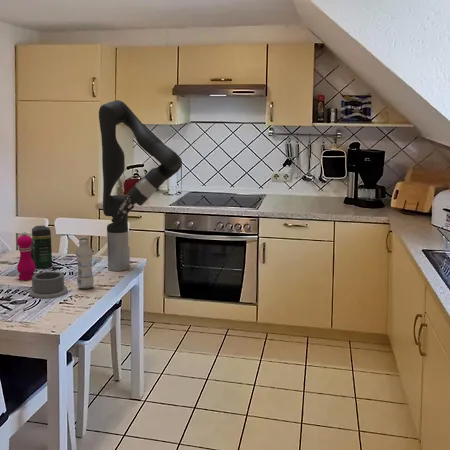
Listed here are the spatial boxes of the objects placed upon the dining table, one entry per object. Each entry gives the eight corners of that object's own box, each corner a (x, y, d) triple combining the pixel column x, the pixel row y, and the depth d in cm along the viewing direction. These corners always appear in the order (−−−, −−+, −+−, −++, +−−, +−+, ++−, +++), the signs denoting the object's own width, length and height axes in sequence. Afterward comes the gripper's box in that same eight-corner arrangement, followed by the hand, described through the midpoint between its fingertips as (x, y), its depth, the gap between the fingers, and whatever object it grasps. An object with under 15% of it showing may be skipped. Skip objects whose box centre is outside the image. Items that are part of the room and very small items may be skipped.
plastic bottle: (97, 286, 221) (95, 238, 217) (87, 291, 215) (86, 241, 211) (83, 284, 223) (81, 236, 219) (73, 289, 217) (71, 240, 213)
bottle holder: (47, 284, 222) (46, 269, 221) (75, 289, 216) (74, 273, 215) (21, 294, 209) (20, 278, 208) (49, 300, 204) (49, 283, 202)
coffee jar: (53, 268, 246) (51, 227, 242) (35, 270, 242) (33, 229, 239) (50, 262, 254) (48, 223, 251) (32, 264, 251) (30, 225, 247)
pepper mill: (30, 281, 226) (27, 234, 222) (14, 280, 228) (11, 233, 224) (39, 276, 233) (36, 230, 229) (23, 275, 234) (21, 229, 231)
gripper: (135, 182, 221) (106, 210, 221) (135, 186, 207) (105, 217, 208) (148, 195, 223) (120, 223, 223) (149, 200, 209) (119, 230, 210)
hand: (113, 220), depth 216 cm, fingers open, 8 cm apart
